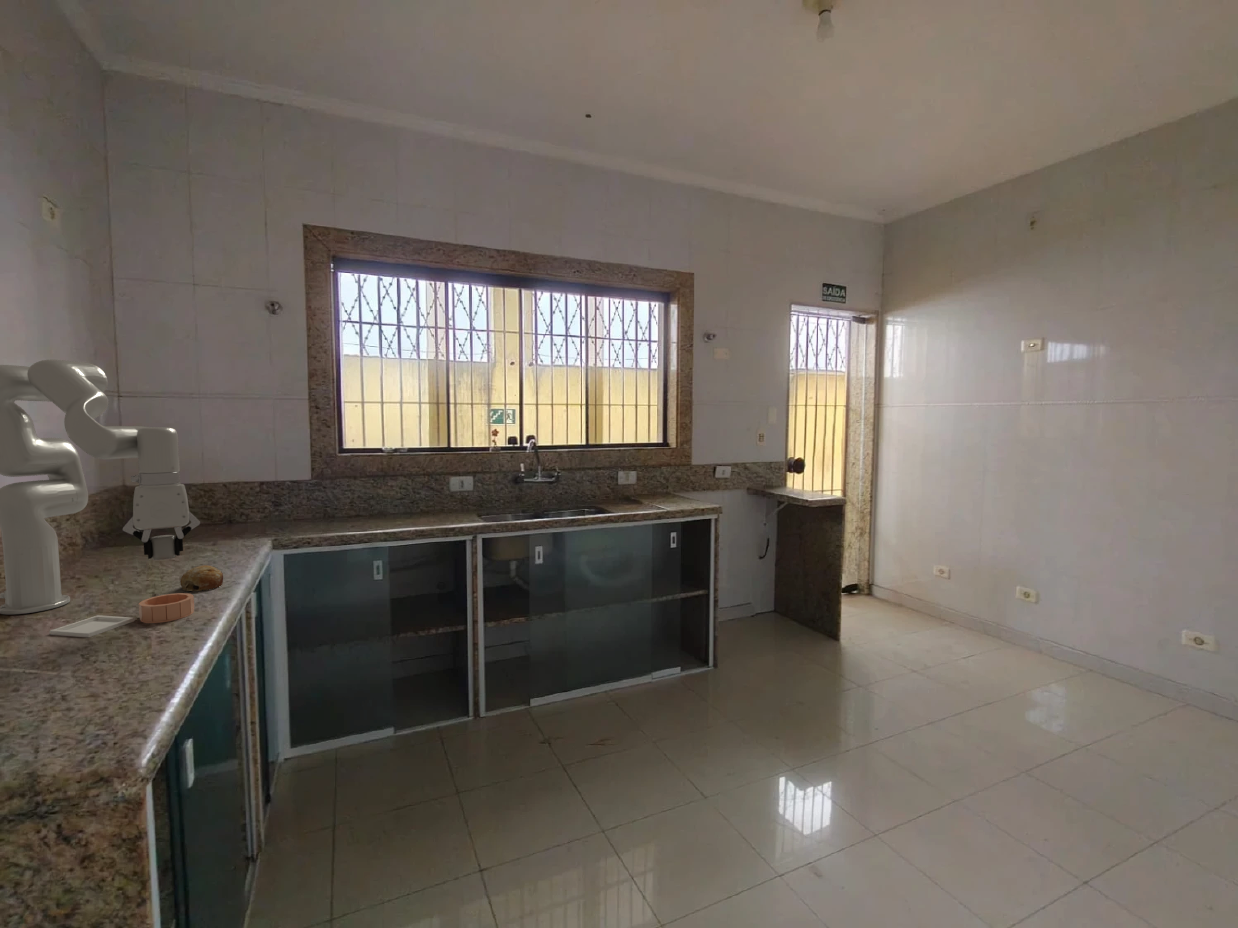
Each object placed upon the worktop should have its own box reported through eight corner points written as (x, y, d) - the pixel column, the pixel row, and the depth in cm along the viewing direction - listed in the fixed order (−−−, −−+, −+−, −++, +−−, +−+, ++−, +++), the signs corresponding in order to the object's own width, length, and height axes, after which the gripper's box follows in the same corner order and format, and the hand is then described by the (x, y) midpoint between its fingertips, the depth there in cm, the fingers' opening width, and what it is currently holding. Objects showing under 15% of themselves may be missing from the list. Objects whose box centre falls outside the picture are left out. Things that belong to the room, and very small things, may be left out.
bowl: (128, 623, 132) (127, 605, 131) (168, 609, 141) (167, 592, 141) (166, 625, 130) (165, 607, 130) (204, 611, 140) (203, 594, 140)
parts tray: (49, 635, 123) (49, 630, 123) (97, 620, 133) (97, 615, 133) (88, 638, 122) (88, 633, 122) (134, 622, 132) (134, 617, 132)
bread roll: (177, 604, 156) (170, 582, 153) (192, 579, 165) (185, 557, 161) (219, 601, 159) (212, 579, 155) (231, 577, 168) (225, 555, 164)
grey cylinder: (147, 559, 133) (145, 538, 132) (164, 554, 137) (163, 534, 137) (163, 560, 132) (162, 539, 132) (181, 555, 137) (180, 535, 136)
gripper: (110, 483, 125) (115, 564, 127) (204, 479, 135) (208, 554, 137) (114, 480, 131) (118, 557, 133) (204, 476, 141) (207, 548, 143)
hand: (164, 555), depth 135 cm, fingers closed on grey cylinder, 4 cm apart
